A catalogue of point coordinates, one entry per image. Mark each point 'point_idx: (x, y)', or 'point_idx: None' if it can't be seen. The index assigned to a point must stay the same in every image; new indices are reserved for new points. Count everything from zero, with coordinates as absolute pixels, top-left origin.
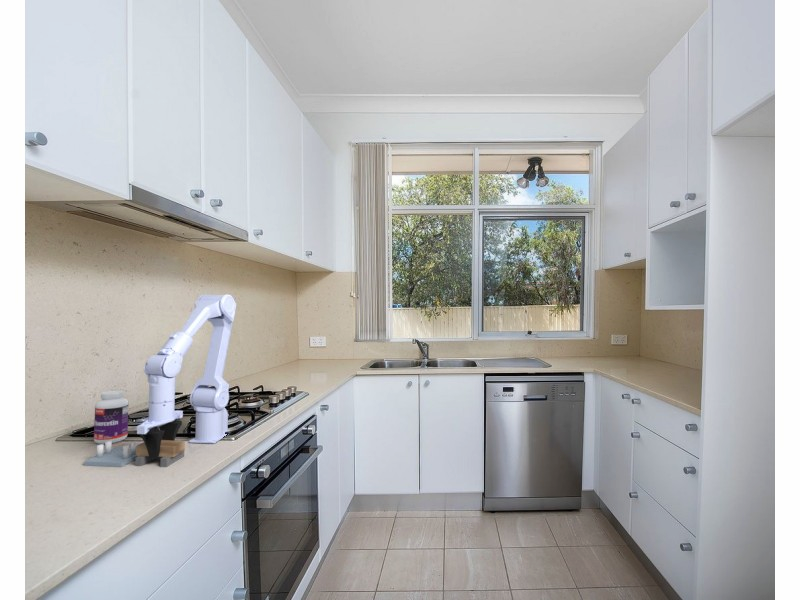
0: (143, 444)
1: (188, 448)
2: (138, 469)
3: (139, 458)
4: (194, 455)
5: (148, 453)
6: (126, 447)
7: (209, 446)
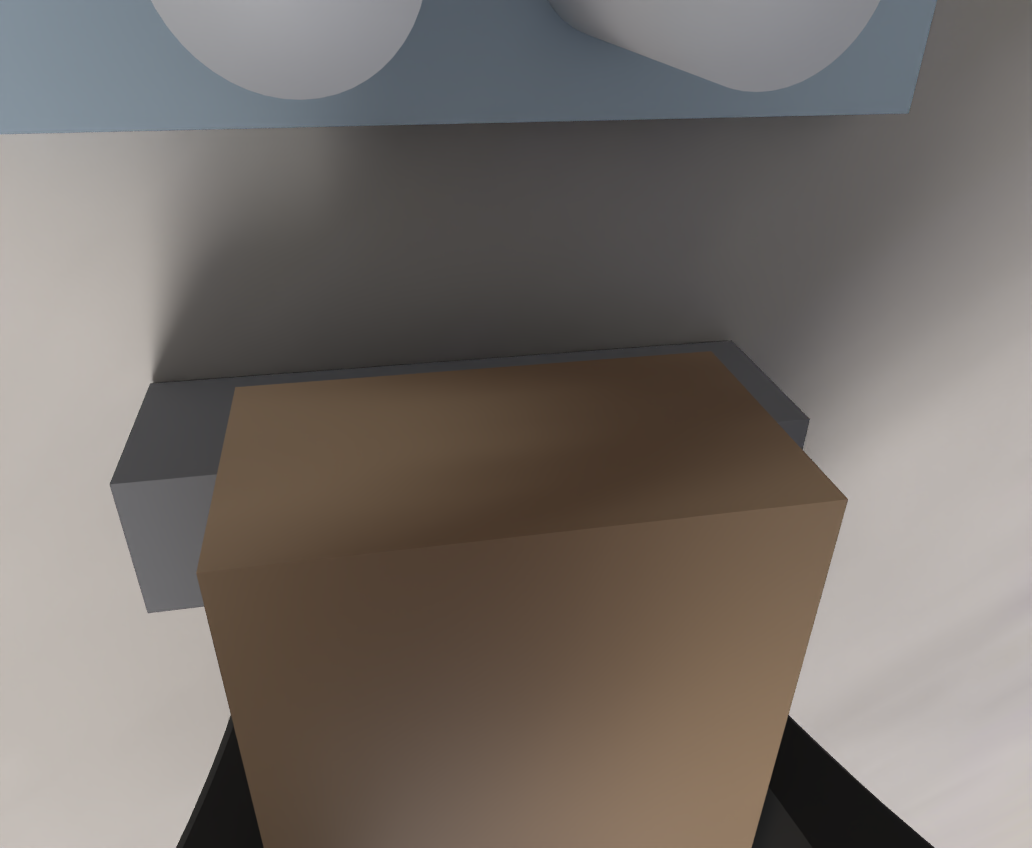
0: (379, 672)
1: (978, 614)
2: (24, 563)
3: (141, 555)
4: None
5: (215, 769)
6: (186, 46)
7: (991, 774)
